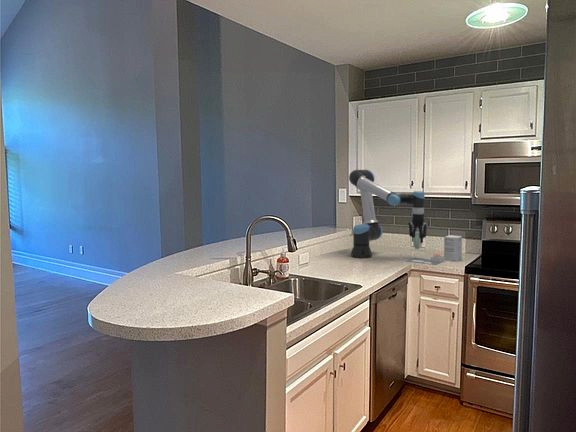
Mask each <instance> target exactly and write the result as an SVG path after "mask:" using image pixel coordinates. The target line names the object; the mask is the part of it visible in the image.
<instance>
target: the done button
mask: <svg viewBox="0 0 576 432" xmlns="http://www.w3.org/2000/svg"><path fill="white" fill-rule="evenodd" d="M433 256H434V257H440V256H441V253H439V252H435V253H434V255H433Z"/></svg>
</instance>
